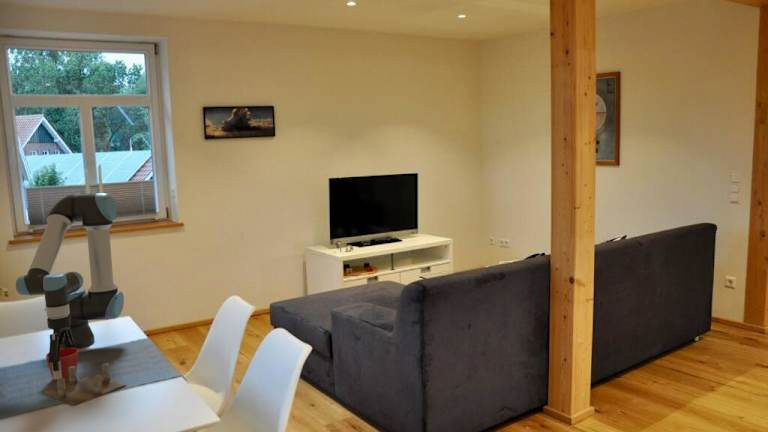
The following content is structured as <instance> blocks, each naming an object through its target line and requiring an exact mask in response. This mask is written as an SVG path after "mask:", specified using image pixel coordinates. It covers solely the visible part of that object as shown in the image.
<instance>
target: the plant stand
mask: <svg viewBox="0 0 768 432" xmlns="http://www.w3.org/2000/svg"><path fill="white" fill-rule="evenodd" d="M68 371H69V380H68V381H69V383H67V384H66V381H65V379H64V378H62V379H58V380H57V381H56V385H57V387H55V388H51V389H49V390H46V391H44V394H45V395H47V396H49V397H50V398H54V399H56V400H58V401H60V402H63V403H64V404H67V405H69V406H71V407H75V406H78V405H80V404H83V403H85V402H88V401H91V400H93V399H97V398H99V397H100V396H104V395H107V394H109V393H112V392H115V391H117V390H119V389H122V388H125V387H127V384H126V383H122V382H120V381H116V380H114V379H112V378H111V370H110V363H103V364H101V371H102V375H101V374H99V373H94V374H92V375H90V376H86V377H83V378H81V379H78V377H77V373H76V367H75V366H71V367H69V368H68Z"/></svg>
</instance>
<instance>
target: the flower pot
mask: <svg viewBox="0 0 768 432" xmlns="http://www.w3.org/2000/svg"><path fill="white" fill-rule="evenodd" d="M45 358H46V361H47V366H48V369H49V371H50V375H51V377H52V381H54V382H57V380H58V379H53V370H52V363H49V362H48V360H49V352H48V353H46V355H45ZM54 359H55V358H54ZM78 360H79V348H77V349H76V348H62V349H61V352H60V358H59V361H61V371H62V378H64V379H65V382H66V381H69V371H68V368H69V367H71V366H75V367H76V374H77V370H78V364H79V363H78V362H79V361H78Z"/></svg>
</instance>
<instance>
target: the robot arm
mask: <svg viewBox="0 0 768 432" xmlns="http://www.w3.org/2000/svg"><path fill="white" fill-rule="evenodd" d="M117 217H118V208H117V204H116V201H115V199H114V198H113V196H112V195H110V194H109V193H106V192H105V193H104V192H103V193H102V192H97V193H95V192H94V193H73V194H69V195H66V196H64V197H62V199H60V200H59V201H58V202H57V203H55V204H54V205H53V207H52V208H51V209H50V211H49V212H48V214H47V217H46V227H45V229H44V232H43V234H42V237H41V239H40V240H39V241H40V242H39V244H38V246H37V250H36V252H35V255H34V257H33V259H32V261H31V263H30V266H29V269H28V271H27V274H24V275H19V277H17V278H16V281H15V289H16V292H17V293H18V294H19V295H20V296H38V295H44V301H45V308H44V311H45V312H46V317H47V318H46V321H47V322H46V323H47V329H49V330H52V331H53V333H51V334H49V350H48V351H49V352H48V353H49V360H48V362H49V363H52V370H53V378H52V380H53V379H62V371H61V361H59V358H60V352H61V349H62V348H76V349H80V348H85V347H87V346H90V345H92V344H93V343H94V342H95V334H94V332H93V330H92V329H91V326H90V324H89V321H93V320H94V321H97V320H101V321H102V320H103V321H104V320H106V321H108V320H115V319H118V318H119V316H120V315H121V313H122V311H123V309H124V304H125V296H124V293H123V292H122V291H120V290H118V288H119V287H118V285H116V284H115V283H114V274H113V263H112V261H113V260H112V248H111V237H110V235H111V234H110V228H111V227H112V226H113V223H114V222H113V221H114V220H116V219H117ZM75 222H76V223H77V222H81V224H82V225H81V226H82V228H84V229H85V230H86V235H87V246H88V247H87V248H88V259H89V272H90V283H91V286H90V287H89V288H88V289H87V291H86V289H84V288H82V287H83V285H84V278H83V276H82V274H81V273H79V272H77V271H69V272H66V273H62V272H60V273H59V272H58V273H56V272H55V273H52V270H53V269H54V266H55V262H56V260H57V258H58V256H59V255H58V254H59V252H60V251H61V250H60V249H61V247H62V244H63V241H64V239H65V236H66V235H67V231H68V230H69V229H70V228H71V227H72V226H73V223H75ZM54 358H55V359H54ZM48 362H47V363H48Z"/></svg>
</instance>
